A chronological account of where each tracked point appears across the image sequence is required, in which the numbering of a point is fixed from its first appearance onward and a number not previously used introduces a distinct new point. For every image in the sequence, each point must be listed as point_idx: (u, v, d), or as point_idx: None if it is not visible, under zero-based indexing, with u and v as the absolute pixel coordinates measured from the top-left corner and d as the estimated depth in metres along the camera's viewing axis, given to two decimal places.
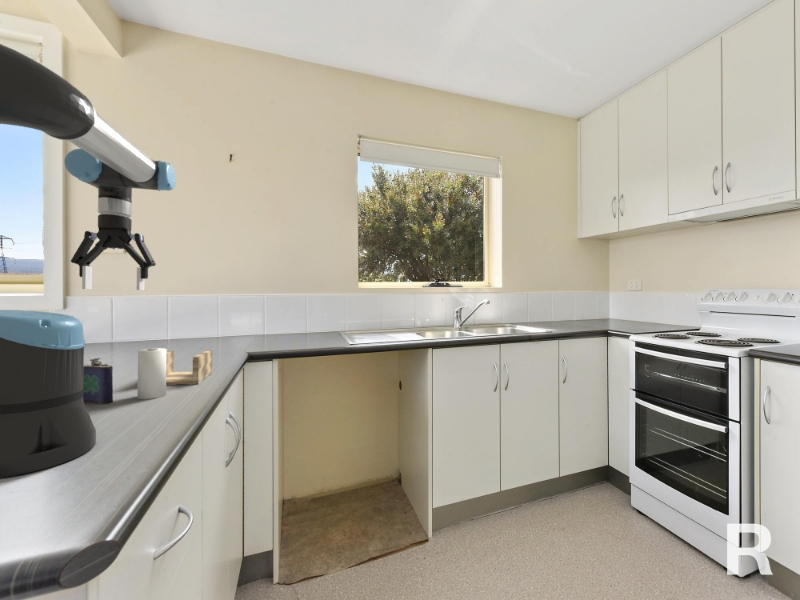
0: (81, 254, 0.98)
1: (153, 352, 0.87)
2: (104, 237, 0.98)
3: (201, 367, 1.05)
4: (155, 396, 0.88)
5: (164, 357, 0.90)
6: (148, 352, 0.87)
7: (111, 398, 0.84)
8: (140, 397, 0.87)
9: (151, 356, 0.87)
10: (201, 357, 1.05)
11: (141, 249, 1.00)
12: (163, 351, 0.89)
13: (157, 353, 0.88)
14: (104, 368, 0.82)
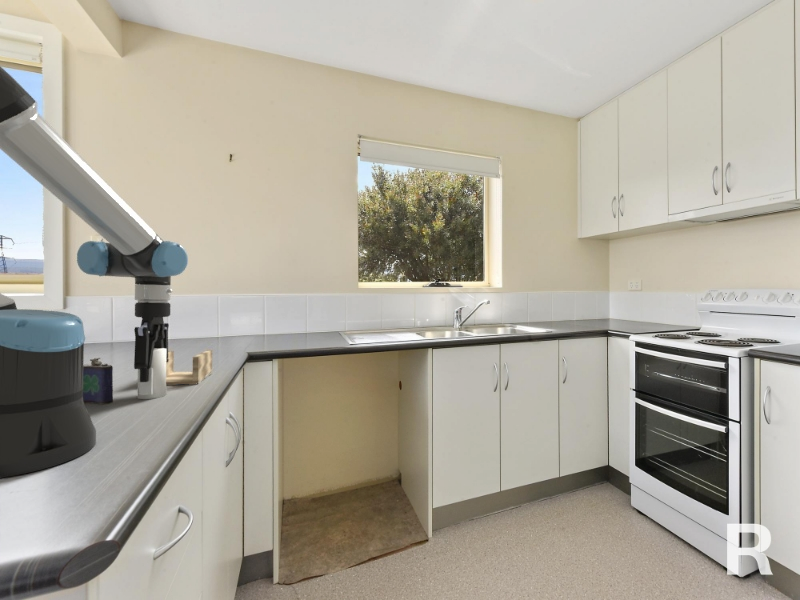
0: None
1: (153, 352, 0.87)
2: None
3: (201, 367, 1.05)
4: (155, 396, 0.88)
5: (164, 357, 0.90)
6: None
7: (111, 398, 0.84)
8: (140, 397, 0.87)
9: None
10: (201, 357, 1.05)
11: None
12: (163, 351, 0.89)
13: (157, 353, 0.88)
14: (104, 368, 0.82)
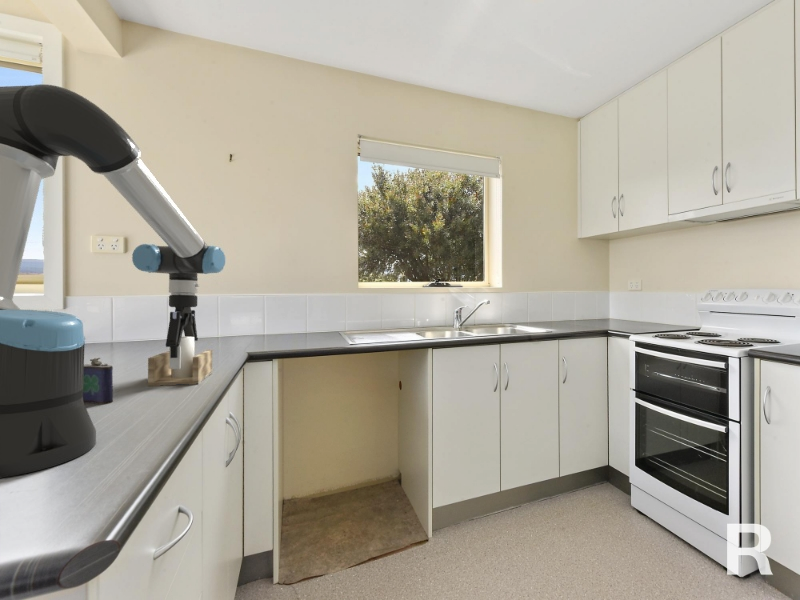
0: None
1: (184, 339, 1.05)
2: None
3: (201, 367, 1.05)
4: (186, 376, 1.05)
5: (193, 344, 1.07)
6: None
7: (111, 398, 0.84)
8: (173, 376, 1.04)
9: (182, 342, 1.05)
10: (201, 357, 1.05)
11: None
12: (192, 339, 1.07)
13: (187, 340, 1.05)
14: (104, 368, 0.82)
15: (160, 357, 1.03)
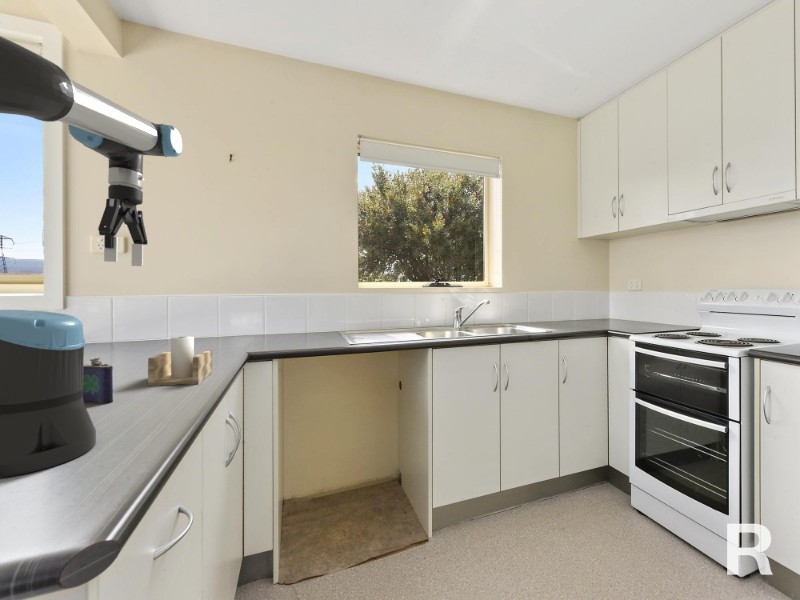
0: None
1: (184, 339, 1.05)
2: None
3: (201, 367, 1.05)
4: (186, 376, 1.05)
5: (192, 343, 1.08)
6: (180, 339, 1.05)
7: (111, 398, 0.84)
8: (173, 376, 1.04)
9: (182, 342, 1.05)
10: (201, 357, 1.05)
11: None
12: (191, 338, 1.07)
13: (187, 340, 1.06)
14: (104, 368, 0.82)
15: (160, 357, 1.03)
